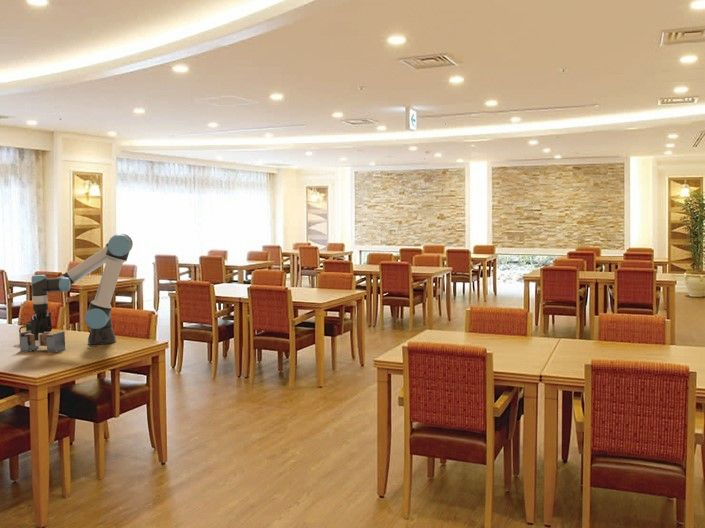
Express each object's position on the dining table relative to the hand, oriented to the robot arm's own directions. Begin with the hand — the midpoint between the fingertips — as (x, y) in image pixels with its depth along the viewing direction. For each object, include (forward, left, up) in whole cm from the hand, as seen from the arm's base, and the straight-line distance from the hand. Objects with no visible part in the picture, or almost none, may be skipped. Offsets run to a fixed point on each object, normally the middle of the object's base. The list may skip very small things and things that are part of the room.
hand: (42, 344), depth 380 cm
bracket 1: (+8, 0, -3) cm, 9 cm away
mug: (+22, -20, -3) cm, 30 cm away
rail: (0, 0, 0) cm, 1 cm away
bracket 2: (-8, 0, -3) cm, 9 cm away
